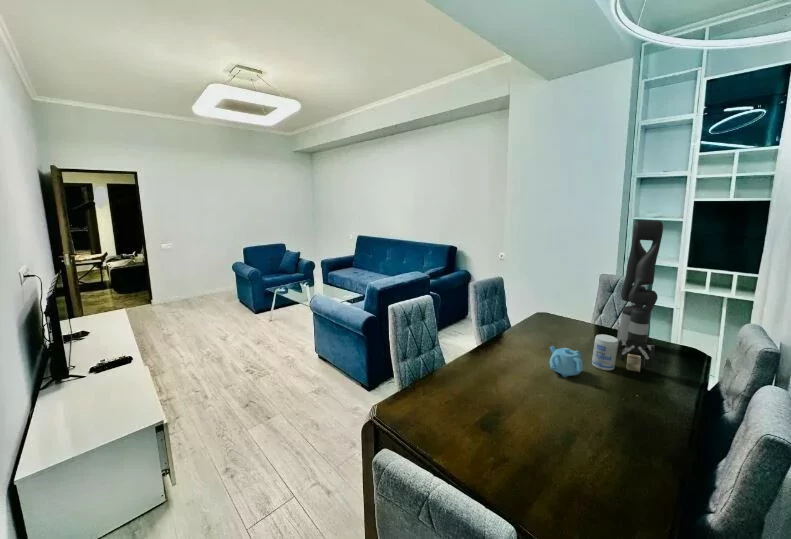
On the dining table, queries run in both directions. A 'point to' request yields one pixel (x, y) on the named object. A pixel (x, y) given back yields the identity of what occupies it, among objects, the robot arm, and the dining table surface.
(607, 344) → the supplement tub
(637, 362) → the maple block
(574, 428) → the dining table surface
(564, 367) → the teapot
